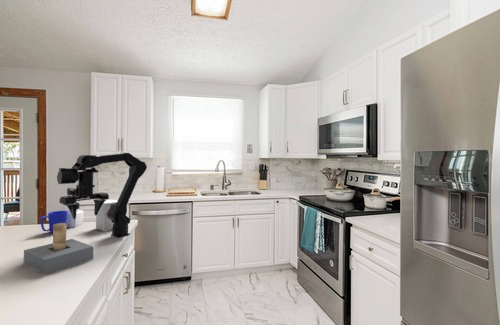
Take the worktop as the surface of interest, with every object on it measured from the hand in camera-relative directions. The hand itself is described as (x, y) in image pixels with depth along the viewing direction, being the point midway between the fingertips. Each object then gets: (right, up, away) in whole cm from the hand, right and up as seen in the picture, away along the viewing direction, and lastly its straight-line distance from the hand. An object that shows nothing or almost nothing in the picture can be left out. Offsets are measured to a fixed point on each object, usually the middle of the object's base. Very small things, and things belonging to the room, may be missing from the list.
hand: (85, 217), depth 119 cm
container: (-25, -11, +29) cm, 40 cm away
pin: (+3, -12, -20) cm, 23 cm away
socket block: (+3, -13, -20) cm, 24 cm away
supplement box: (-3, -12, +25) cm, 28 cm away
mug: (-25, -11, +15) cm, 31 cm away
